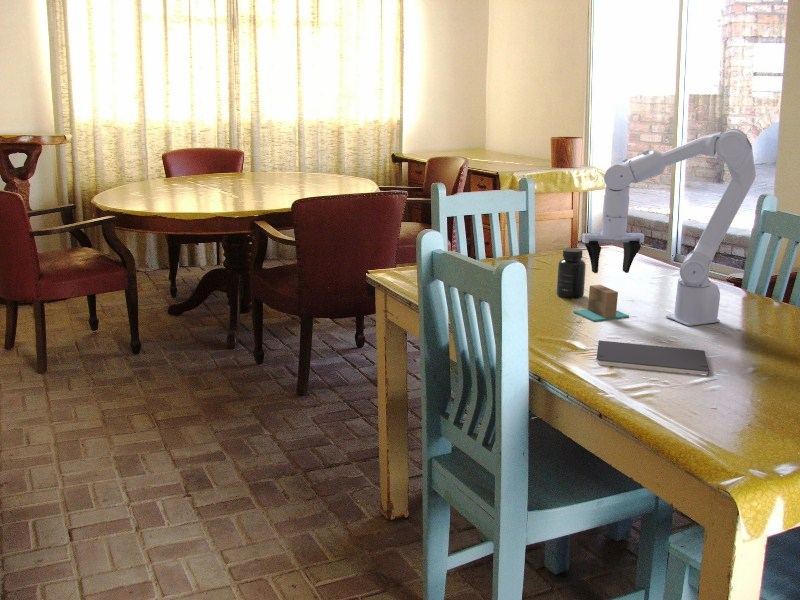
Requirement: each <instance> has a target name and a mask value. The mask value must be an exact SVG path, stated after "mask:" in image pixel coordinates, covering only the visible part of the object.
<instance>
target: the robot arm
mask: <svg viewBox="0 0 800 600" xmlns="http://www.w3.org/2000/svg"><path fill="white" fill-rule="evenodd" d="M720 134H721V135H720ZM641 153H642V154H640V155H637V156H634V157H632V158H629V159H628V158H627V157H625V158H623V159H622V161H621V162H622V163H620V162H619V163H614V164H613V165H612V166H610V167H609V168H607V170H606V171H605V172H604V176H603V180H604V183H605V188H604V191H605V192H604V196H603V204H602V205H603V209H602V219H601V229H600V230H601V231H597V232H590V233H582V234H581V235H582V236H581V239H582V240H581V242H582V243H583V244H584V247H585V248H586V251H587V253H588V256H589V261H590V265H591V272H592V273H593V274H598V272H599V266H600V265H599V263H600V262H599V261H600V256H601V251H602V246H601V245H600V243H622V245H623V259H622V272H624V273H625V274H629V272H630V269H631V266H632V265H633V261H634V259H635V257H636V256H637V254H638V252H639V251H640V250H641V248H642V243H643V244H644V243H645V234H644V233H641V232H627V227H628V215H629V208H630V207H629V204H630V185H631V183H632V184H638V183H640V182H644V181H647V180H649V179H652V178H654V177H657V176H659V175H663V173H664V172H665V169H666V167H667V166H670V165H672V164H677V163H679V162H682V161H685V160H687V159H690V158H695V157H697V156H700V155H704V156H709V157H714V156H715V155H716V154H717V155H718V157H719V158H720V159H721V160H722V161H723V162H724V163H725V164H726V166H727V169H728V171H729V175H730V177H731V179H730V180H729V182H728V183H727V186H726V188H725V190H724V191H723V194H722V195H721V198H720V200H719V202H718V204H717V205H716V207H715V209H714V211H713V213H712V215H711V216H710V218H709V220H708V223H706V224H707V225H706V226H705V229H703V231H702V234H701V235H700V238H699V240H698V241H697V243H696V244H695V247H694V249H693V250H692V251H691V252H689V253H688V254H686V255H685V257H684V259H683V260H682V261H683V262H682V264H681V266H680V268H679V276H680V277H679V278H678V279H677V283H676V285H677V286H676V294H675V295H676V296H675V304H674V313H670V314H665V318H667V319H670V320H672V321H675V322H677V323H680V324H683V325H685V326H687V327H692V326H699V325H706V324H707V325H708V324H714V323H719V322H720V319H718V316H719V307H720V301H721V292H720V288H719V286H718V285H717V284H716V283H715V282H713V281H711V280H710V279H709V276H710V272H711V269H712V263H713V262H712V261H713V259H714V258H715V255H716V253H717V251H718V249H719V248H720V245H721V243H722V241H723V240H724V238H725V235H727V232H728V230H729V228H730V227H731V224H732V223H733V221H734V219H735V217H736V215H737V213H738V212H739V210H740V208H741V206H742V204H743V203H744V200H745V199H746V197H747V195H748V192H749V191H750V189H751V187H752V185H753V183H754V182H755V180H756V165H755V160H754V153H753V145H752V143H751V141H750V140H749V138H748V136H747V134H746V133H745V132H744V131H742V130H741V129H738V128H729V129H727V130H725V131H724V132H723V133H722V131H718V132H715V133H710V134H707V135H704V136H701V137H700V136H699V137H698V138H696V139H693V140H691V141H688V142H686V143H683V144H681V145H678V146H676V147H673V148H672V149H669V150H667V151H664V152H659V151H658V150H655V149H653V150H649V149H645V150H643V151H641Z"/></svg>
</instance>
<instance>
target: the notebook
mask: <svg viewBox="0 0 800 600" xmlns="http://www.w3.org/2000/svg"><path fill="white" fill-rule="evenodd" d="M596 351H597V352H596V360H595V361H596V363H597V365H601V366H610V367H618V368H630V369H637V370H639V369H640V370H648V371H658V372H667V373H668V372H669V373H676V372H679V373H678V374H686V373H690V374H689V375H696V374H708V373H709V372H710V366H709V363H708V358H707V355H706V351H705V350H703V349H692V348H682V347H673V346H672V347H671V346H670V347H669V346H662V345H661V346H659V345H650V344H640V343H629V342H621V341H620V342H619V341H609V340H598V342H597V350H596ZM708 371H709V372H708Z"/></svg>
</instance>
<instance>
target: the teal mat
mask: <svg viewBox="0 0 800 600" xmlns="http://www.w3.org/2000/svg"><path fill="white" fill-rule="evenodd" d="M573 313H574V314H575V315H578V316H581V317H583V318H585V319H587V320H589V321H591V322H602V321H609V320H619V319H626V318H630V315H629V314H627V313H624V312H621V311H619V310H617V309H616V317H610V318H604V317H602V316H599V315H597V314H595V313H593V312H591V311H589V310H588V308H587V309H578V310H573Z"/></svg>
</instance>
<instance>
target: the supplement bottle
mask: <svg viewBox="0 0 800 600" xmlns="http://www.w3.org/2000/svg"><path fill="white" fill-rule="evenodd" d="M583 252H584V251H583V249H581V248H575V247H568V248H564V249H563V250H562V259H560V260H559V262H558V265H557V279H556V295H557V296H558V297H560V298H562V299H566V300H567V299H568V300H577V299H578V300H579V299H581V298H583V297H584V296H585V295H584V293H585V283H586V281H585V279H586V262H585V261H584V260H583Z"/></svg>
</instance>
